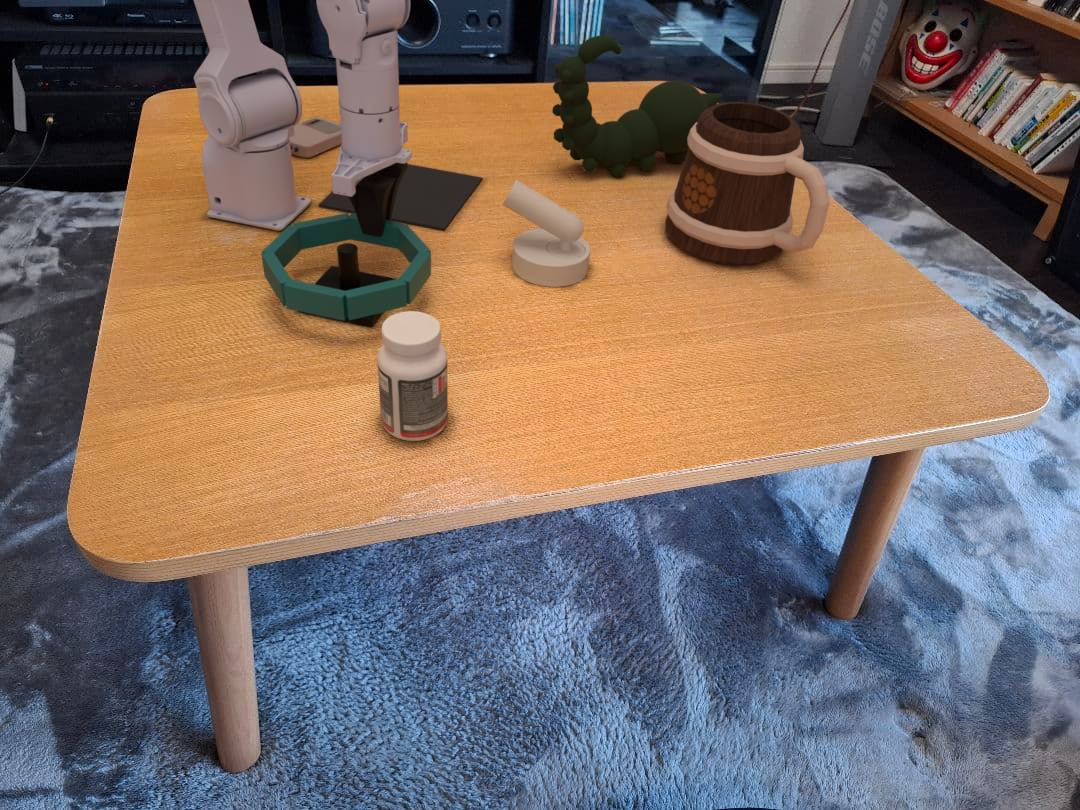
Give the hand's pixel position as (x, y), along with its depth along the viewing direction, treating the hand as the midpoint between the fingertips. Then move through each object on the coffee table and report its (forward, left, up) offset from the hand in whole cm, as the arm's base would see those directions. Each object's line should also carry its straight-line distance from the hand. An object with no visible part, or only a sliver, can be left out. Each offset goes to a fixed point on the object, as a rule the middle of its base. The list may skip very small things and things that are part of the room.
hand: (375, 230), depth 91 cm
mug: (+38, +20, -5) cm, 43 cm away
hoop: (0, -7, -2) cm, 7 cm away
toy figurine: (+22, +38, -5) cm, 44 cm away
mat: (-4, +18, -4) cm, 19 cm away
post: (0, -7, -4) cm, 8 cm away
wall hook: (+17, +7, -5) cm, 19 cm away
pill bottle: (+13, -23, -5) cm, 27 cm away
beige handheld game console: (-21, +27, -5) cm, 34 cm away
